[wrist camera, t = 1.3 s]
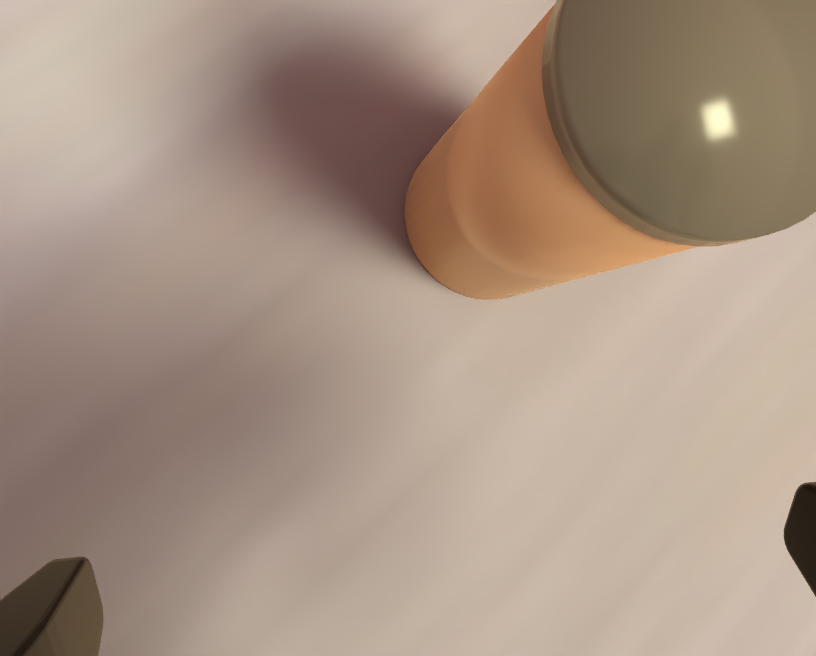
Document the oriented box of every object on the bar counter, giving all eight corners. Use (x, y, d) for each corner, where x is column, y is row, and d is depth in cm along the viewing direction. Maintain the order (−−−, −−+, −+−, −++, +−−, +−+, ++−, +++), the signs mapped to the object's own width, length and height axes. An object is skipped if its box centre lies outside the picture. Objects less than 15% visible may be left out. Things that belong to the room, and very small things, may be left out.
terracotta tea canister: (579, 293, 24) (895, 223, 12) (412, 311, 23) (586, 253, 11) (558, 123, 24) (851, -105, 13) (391, 133, 23) (540, -108, 11)
